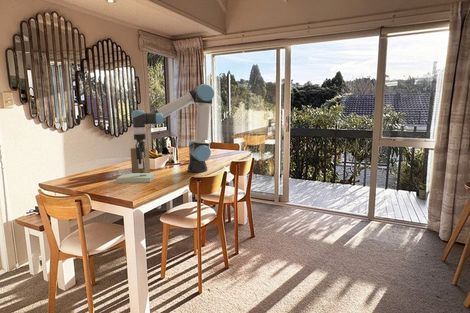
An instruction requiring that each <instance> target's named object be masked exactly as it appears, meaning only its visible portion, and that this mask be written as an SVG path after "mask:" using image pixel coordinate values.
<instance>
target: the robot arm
mask: <svg viewBox="0 0 470 313" xmlns="http://www.w3.org/2000/svg"><path fill="white" fill-rule="evenodd" d="M214 96H215V89H214V88H213V86H211V84H207V83H202V84H199V85H197V86H195V87H194V88H192V89H190V90H189V91H187V93H185V94H184V95H182V96H180V97H178V98H177V99H176V98H175V100H172V101H171V102H168V103H166V104H165V105H163V106H161V107H159V108H157V109H155V110H153V111H150V112H145V111H144V109H138V110H137V109H136V110H133V111H132V131H133V140H134V141H136V143H135V146H134V147H136V155H137V158H136V159H138V167H139V169H143V162H142V152H144V157H146V156H145V147H146V142H145V141H144V140H146V138H147V136H146V125H163V124H164V118H167V117H168V116H171V115H172V114H174V113H176V112H178V111H180V110H181V109H184V108H185V107H187V106H190V105H192V104H193V105H194V104H196V106H197V109H196V110H197V111H196V112H197V113H196V129H195V131H196V132H195V139H194V140H193V141H189V143H188V152H189V154H188V155H189V162H188V165H187V172H189V173H196V174H197V173H204V172H207V171H208V165H207V163H206V161H207V160H209V159H210V157H211V153H212V152H211V148H210V144H211V143H210V141H209V127H210V125H209V124H210V111H211V109H210V108H211V106H212V105H213V99H214ZM144 163H145V160H144Z"/></svg>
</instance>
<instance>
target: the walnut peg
mask: <svg viewBox="0 0 470 313" xmlns="http://www.w3.org/2000/svg"><path fill="white" fill-rule="evenodd" d="M142 162H143V169H140V173H144V169H145V163H144V152H142Z"/></svg>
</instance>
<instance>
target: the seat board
mask: <svg viewBox="0 0 470 313" xmlns="http://www.w3.org/2000/svg"><path fill="white" fill-rule="evenodd" d="M155 178H156V172H149V173H132V172H130V173H129V172H125V173H122V174H120V176H118V177H117V178H116V183H117V184H121V183H122V184H127V183H132V184H133V183H136V184H137V183H151V182H152V181H153V180H154V179H155Z"/></svg>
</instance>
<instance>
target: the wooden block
mask: <svg viewBox="0 0 470 313" xmlns="http://www.w3.org/2000/svg"><path fill="white" fill-rule="evenodd" d="M129 151H130V164H131V173H140V169H139V167H138V159H136V158H137V155H136V146H134V147H130V150H129ZM145 156H146V157H144V160H145V169H144V173H151V165H150V149H149V146H145Z"/></svg>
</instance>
